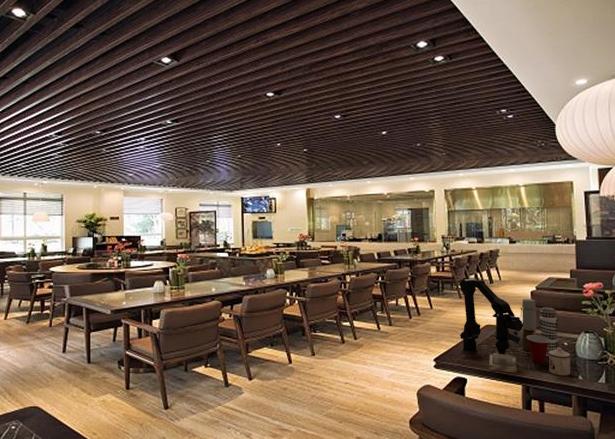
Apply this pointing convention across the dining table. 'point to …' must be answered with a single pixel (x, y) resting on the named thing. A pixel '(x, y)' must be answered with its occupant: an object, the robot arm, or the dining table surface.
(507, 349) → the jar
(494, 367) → the tan piece
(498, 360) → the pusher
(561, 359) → the teacup with lid
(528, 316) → the water bottle
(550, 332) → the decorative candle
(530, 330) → the condiment
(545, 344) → the plastic cup
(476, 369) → the dining table surface
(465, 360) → the dining table surface
